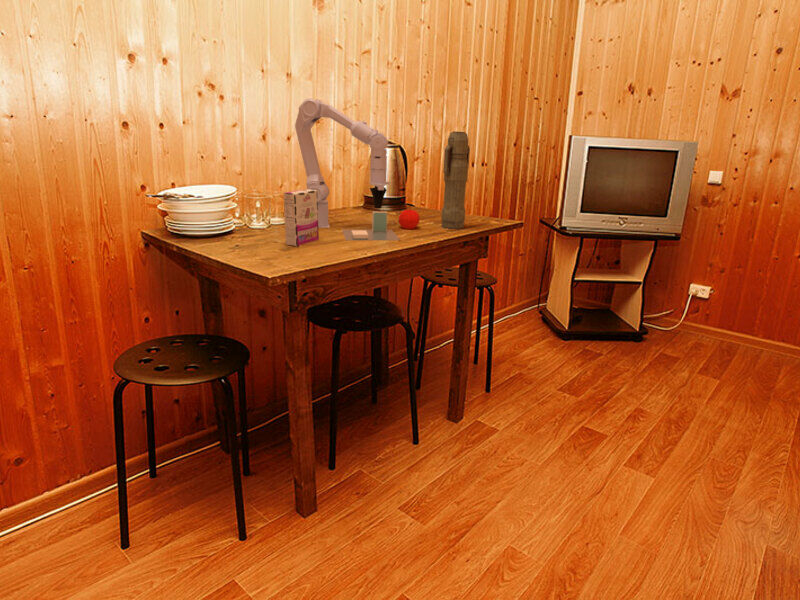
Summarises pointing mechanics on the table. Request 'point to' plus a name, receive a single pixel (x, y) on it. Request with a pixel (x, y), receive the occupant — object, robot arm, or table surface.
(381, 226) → the tile
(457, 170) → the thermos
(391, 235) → the slate board
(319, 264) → the table surface
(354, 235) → the tile
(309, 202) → the candy bar box
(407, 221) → the apple
